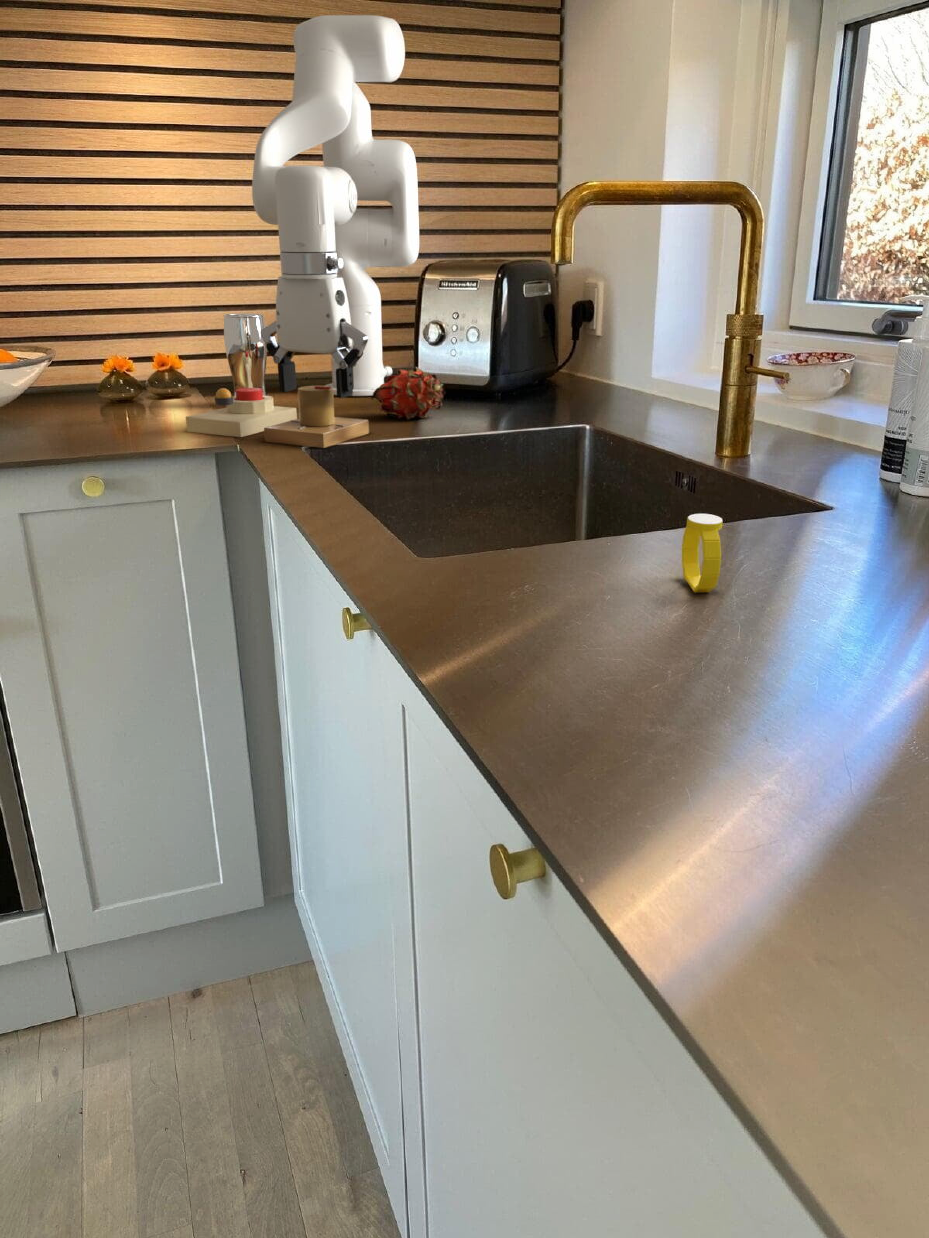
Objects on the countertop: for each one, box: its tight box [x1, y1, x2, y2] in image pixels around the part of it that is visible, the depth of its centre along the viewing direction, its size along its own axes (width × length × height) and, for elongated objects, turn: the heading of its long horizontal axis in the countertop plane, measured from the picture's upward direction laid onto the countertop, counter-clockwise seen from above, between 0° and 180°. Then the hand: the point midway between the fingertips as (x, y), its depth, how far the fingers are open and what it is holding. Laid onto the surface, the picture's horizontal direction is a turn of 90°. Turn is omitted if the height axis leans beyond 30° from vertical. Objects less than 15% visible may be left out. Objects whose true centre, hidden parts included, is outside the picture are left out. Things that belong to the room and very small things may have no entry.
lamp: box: [214, 387, 234, 406], centre depth 139 cm, size 3×3×2 cm
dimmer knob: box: [297, 385, 336, 426], centre depth 135 cm, size 5×5×5 cm
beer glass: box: [223, 313, 268, 397], centre depth 159 cm, size 7×7×15 cm
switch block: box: [185, 395, 298, 438], centre depth 143 cm, size 14×10×4 cm
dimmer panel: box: [263, 416, 370, 449], centre depth 136 cm, size 12×10×2 cm
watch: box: [681, 513, 723, 594], centre depth 77 cm, size 6×3×6 cm, turn 4°
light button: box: [236, 388, 263, 401], centre depth 144 cm, size 4×4×2 cm
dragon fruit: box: [370, 366, 447, 421], centre depth 150 cm, size 8×8×12 cm
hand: (316, 393), depth 135 cm, fingers open, 9 cm apart
